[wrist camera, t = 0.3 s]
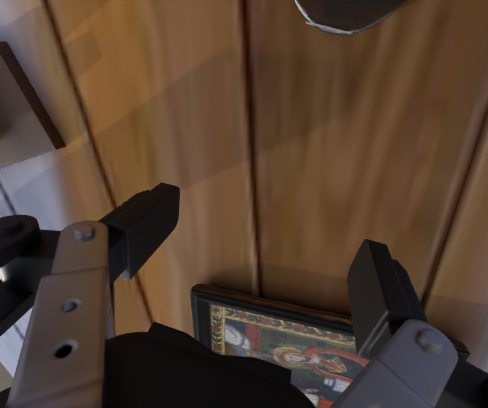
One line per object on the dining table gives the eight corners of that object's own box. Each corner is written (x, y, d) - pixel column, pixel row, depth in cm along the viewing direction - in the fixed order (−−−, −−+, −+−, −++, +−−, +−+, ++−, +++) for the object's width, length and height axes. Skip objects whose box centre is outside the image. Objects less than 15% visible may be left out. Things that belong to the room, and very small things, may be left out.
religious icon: (207, 403, 56) (202, 418, 53) (174, 275, 40) (165, 288, 38) (409, 452, 46) (415, 474, 44) (472, 310, 31) (485, 332, 28)
